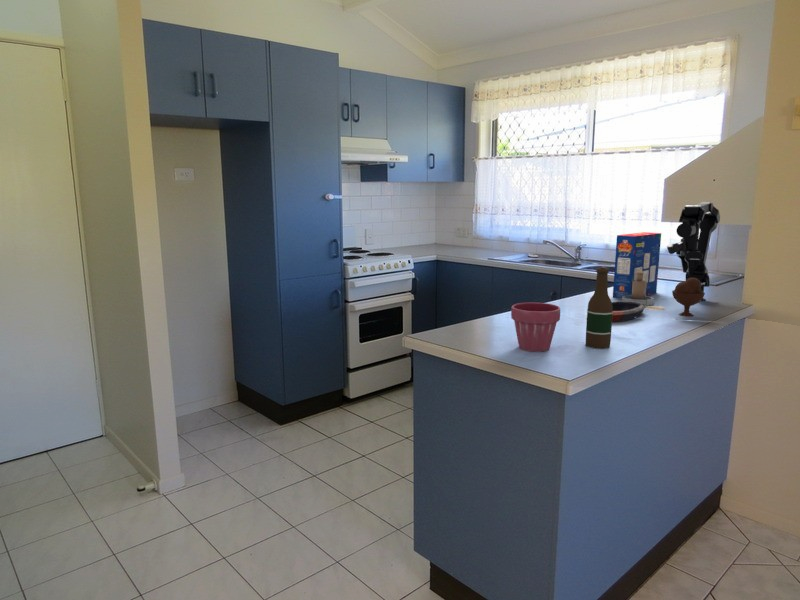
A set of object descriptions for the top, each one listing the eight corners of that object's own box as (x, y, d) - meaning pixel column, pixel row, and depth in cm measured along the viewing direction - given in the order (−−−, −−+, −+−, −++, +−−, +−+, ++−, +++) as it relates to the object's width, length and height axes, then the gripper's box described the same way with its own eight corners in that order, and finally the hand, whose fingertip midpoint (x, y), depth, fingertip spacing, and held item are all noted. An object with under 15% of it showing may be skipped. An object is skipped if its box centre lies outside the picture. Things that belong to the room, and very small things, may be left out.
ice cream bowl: (694, 313, 225) (698, 275, 222) (706, 319, 214) (710, 279, 211) (666, 313, 226) (669, 275, 223) (677, 319, 215) (680, 279, 212)
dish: (656, 315, 223) (657, 302, 222) (612, 327, 204) (613, 313, 203) (619, 309, 234) (619, 297, 234) (574, 319, 215) (575, 306, 214)
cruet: (632, 300, 248) (634, 269, 245) (645, 301, 245) (648, 270, 242) (629, 302, 243) (632, 271, 241) (643, 303, 240) (646, 272, 238)
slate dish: (620, 300, 251) (620, 294, 251) (650, 302, 248) (650, 295, 248) (624, 306, 240) (624, 299, 239) (655, 307, 237) (655, 300, 236)
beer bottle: (580, 342, 181) (584, 266, 177) (604, 342, 182) (609, 266, 177) (590, 349, 173) (595, 270, 169) (615, 348, 174) (621, 269, 170)
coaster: (643, 307, 237) (643, 305, 237) (662, 307, 236) (662, 306, 236) (646, 310, 231) (647, 309, 231) (665, 311, 229) (665, 310, 229)
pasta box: (639, 290, 277) (644, 232, 272) (656, 292, 272) (661, 233, 267) (612, 298, 258) (617, 235, 253) (630, 300, 253) (635, 236, 247)
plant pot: (505, 351, 172) (506, 308, 169) (515, 340, 184) (517, 300, 182) (554, 356, 166) (556, 312, 164) (561, 344, 179) (563, 304, 176)
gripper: (664, 234, 248) (661, 270, 251) (674, 237, 230) (671, 276, 233) (693, 234, 246) (689, 271, 248) (705, 238, 228) (701, 277, 231)
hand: (687, 274), depth 240 cm, fingers open, 9 cm apart
